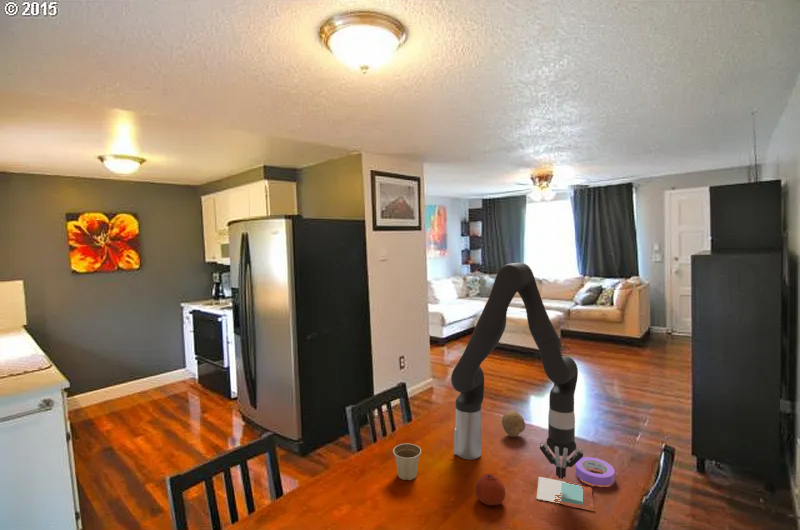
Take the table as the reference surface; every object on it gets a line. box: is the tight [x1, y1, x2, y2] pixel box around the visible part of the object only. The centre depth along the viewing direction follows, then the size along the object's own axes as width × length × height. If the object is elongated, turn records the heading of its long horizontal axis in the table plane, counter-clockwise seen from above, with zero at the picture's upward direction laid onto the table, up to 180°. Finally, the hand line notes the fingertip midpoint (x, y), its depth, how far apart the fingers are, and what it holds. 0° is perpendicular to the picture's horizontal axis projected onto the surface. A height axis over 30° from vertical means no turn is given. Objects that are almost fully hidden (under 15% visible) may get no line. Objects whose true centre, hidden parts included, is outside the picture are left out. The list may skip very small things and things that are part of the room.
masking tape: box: [574, 456, 616, 485], centre depth 134 cm, size 12×12×4 cm
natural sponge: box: [501, 410, 526, 438], centre depth 162 cm, size 9×9×10 cm
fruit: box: [474, 473, 506, 506], centre depth 122 cm, size 9×9×8 cm
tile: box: [561, 481, 583, 505], centre depth 124 cm, size 1×8×6 cm
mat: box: [536, 476, 567, 503], centre depth 126 cm, size 16×12×1 cm
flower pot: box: [392, 442, 422, 481], centre depth 137 cm, size 9×9×9 cm
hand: (560, 477), depth 126 cm, fingers closed
